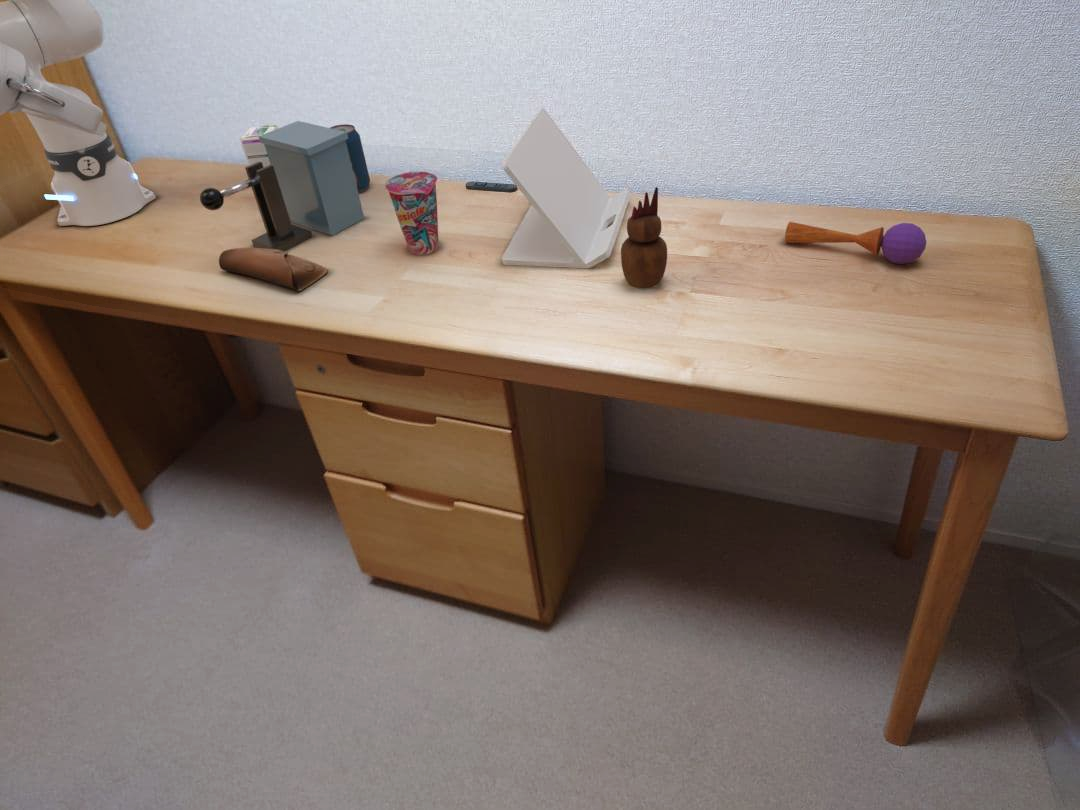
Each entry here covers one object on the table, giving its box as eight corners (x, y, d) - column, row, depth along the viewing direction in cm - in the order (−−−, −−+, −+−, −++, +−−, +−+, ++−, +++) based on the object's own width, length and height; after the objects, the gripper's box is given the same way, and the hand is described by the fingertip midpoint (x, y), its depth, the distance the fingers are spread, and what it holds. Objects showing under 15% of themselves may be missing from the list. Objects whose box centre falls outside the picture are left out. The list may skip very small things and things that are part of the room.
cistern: (331, 237, 138) (306, 148, 128) (284, 221, 145) (258, 136, 135) (367, 218, 143) (346, 131, 133) (321, 203, 150) (298, 120, 140)
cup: (389, 255, 130) (374, 188, 123) (418, 233, 136) (405, 168, 128) (434, 264, 126) (421, 195, 119) (461, 241, 132) (451, 174, 125)
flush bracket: (276, 255, 134) (251, 178, 125) (253, 246, 138) (227, 171, 129) (312, 236, 139) (290, 161, 130) (289, 228, 142) (266, 154, 133)
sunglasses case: (331, 267, 127) (308, 245, 122) (312, 303, 126) (287, 283, 120) (257, 249, 135) (231, 227, 129) (238, 283, 134) (211, 262, 128)
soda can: (360, 179, 158) (347, 120, 151) (377, 187, 154) (364, 128, 146) (331, 189, 155) (315, 130, 148) (347, 198, 151) (332, 138, 143)
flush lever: (212, 215, 124) (204, 194, 122) (200, 211, 126) (192, 190, 124) (276, 187, 131) (270, 167, 129) (264, 183, 133) (258, 163, 131)
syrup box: (292, 208, 149) (269, 134, 140) (262, 210, 150) (238, 137, 141) (299, 196, 154) (278, 124, 145) (271, 198, 154) (248, 126, 145)
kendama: (795, 209, 122) (932, 220, 112) (792, 245, 125) (925, 259, 115) (784, 217, 118) (925, 230, 108) (780, 255, 121) (918, 271, 111)
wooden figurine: (665, 273, 118) (668, 180, 108) (666, 292, 113) (669, 197, 104) (621, 274, 119) (620, 182, 109) (621, 293, 114) (619, 199, 105)
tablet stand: (501, 264, 124) (488, 163, 114) (536, 199, 143) (528, 107, 132) (610, 269, 120) (608, 164, 110) (632, 201, 139) (632, 106, 128)
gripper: (37, 62, 91) (146, 118, 103) (-30, 46, 102) (75, 99, 113) (19, 111, 91) (129, 162, 103) (-47, 91, 102) (60, 139, 114)
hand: (100, 129), depth 108 cm, fingers closed
